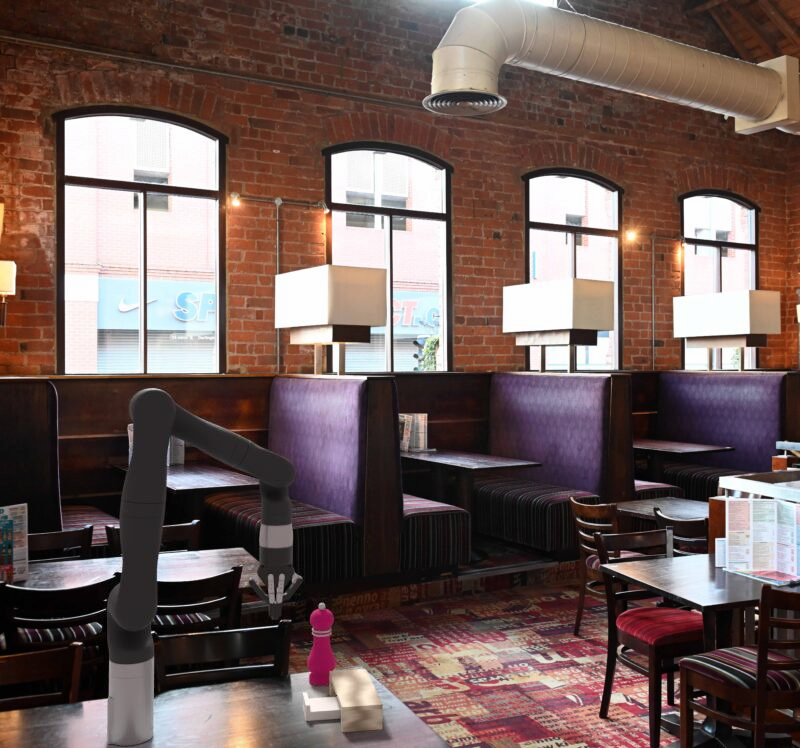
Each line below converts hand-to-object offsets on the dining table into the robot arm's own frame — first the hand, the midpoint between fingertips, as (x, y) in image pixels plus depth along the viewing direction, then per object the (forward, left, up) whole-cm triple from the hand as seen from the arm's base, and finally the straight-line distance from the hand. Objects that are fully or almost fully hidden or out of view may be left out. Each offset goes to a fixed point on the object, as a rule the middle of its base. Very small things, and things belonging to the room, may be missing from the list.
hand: (275, 618), depth 201 cm
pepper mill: (+13, +20, -23) cm, 33 cm away
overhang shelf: (+19, 0, -22) cm, 29 cm away
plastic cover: (+15, 0, -22) cm, 27 cm away
